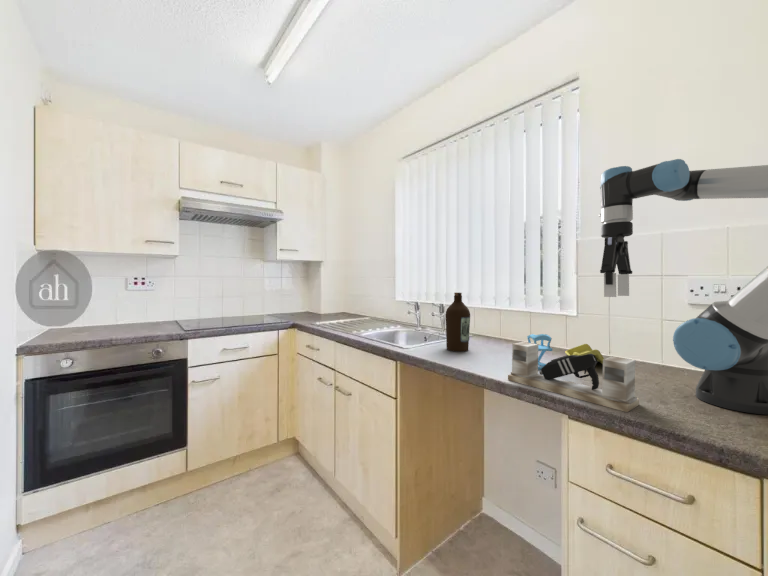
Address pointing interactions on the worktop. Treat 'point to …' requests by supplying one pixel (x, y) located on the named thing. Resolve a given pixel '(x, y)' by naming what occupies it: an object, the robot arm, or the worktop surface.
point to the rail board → (614, 383)
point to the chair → (541, 347)
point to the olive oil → (457, 325)
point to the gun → (572, 367)
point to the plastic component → (585, 352)
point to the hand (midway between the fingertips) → (617, 296)
